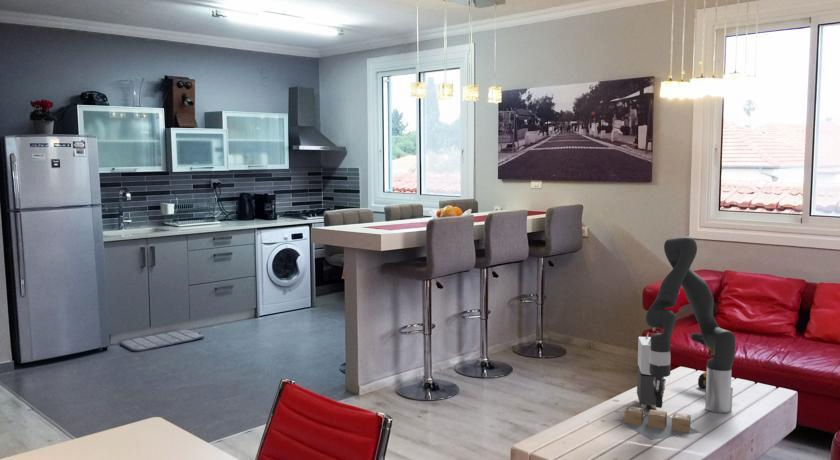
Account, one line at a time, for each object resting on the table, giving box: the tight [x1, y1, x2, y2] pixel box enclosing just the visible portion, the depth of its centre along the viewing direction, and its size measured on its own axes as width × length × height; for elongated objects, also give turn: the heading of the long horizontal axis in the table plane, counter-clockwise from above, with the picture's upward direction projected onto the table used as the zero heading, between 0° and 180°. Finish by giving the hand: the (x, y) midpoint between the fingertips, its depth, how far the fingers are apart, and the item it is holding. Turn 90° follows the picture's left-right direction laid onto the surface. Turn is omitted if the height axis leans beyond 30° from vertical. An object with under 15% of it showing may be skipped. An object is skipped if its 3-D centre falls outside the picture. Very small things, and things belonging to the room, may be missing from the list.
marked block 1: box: [624, 405, 645, 426], centre depth 278 cm, size 6×6×5 cm
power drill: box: [689, 332, 715, 390], centre depth 324 cm, size 8×21×25 cm, turn 32°
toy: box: [636, 331, 657, 410], centre depth 298 cm, size 15×7×30 cm, turn 168°
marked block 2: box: [671, 412, 692, 433], centre depth 271 cm, size 6×6×5 cm
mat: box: [615, 414, 702, 441], centre depth 275 cm, size 22×22×1 cm
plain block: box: [647, 409, 668, 430], centre depth 274 cm, size 6×6×5 cm
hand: (659, 407), depth 274 cm, fingers closed
